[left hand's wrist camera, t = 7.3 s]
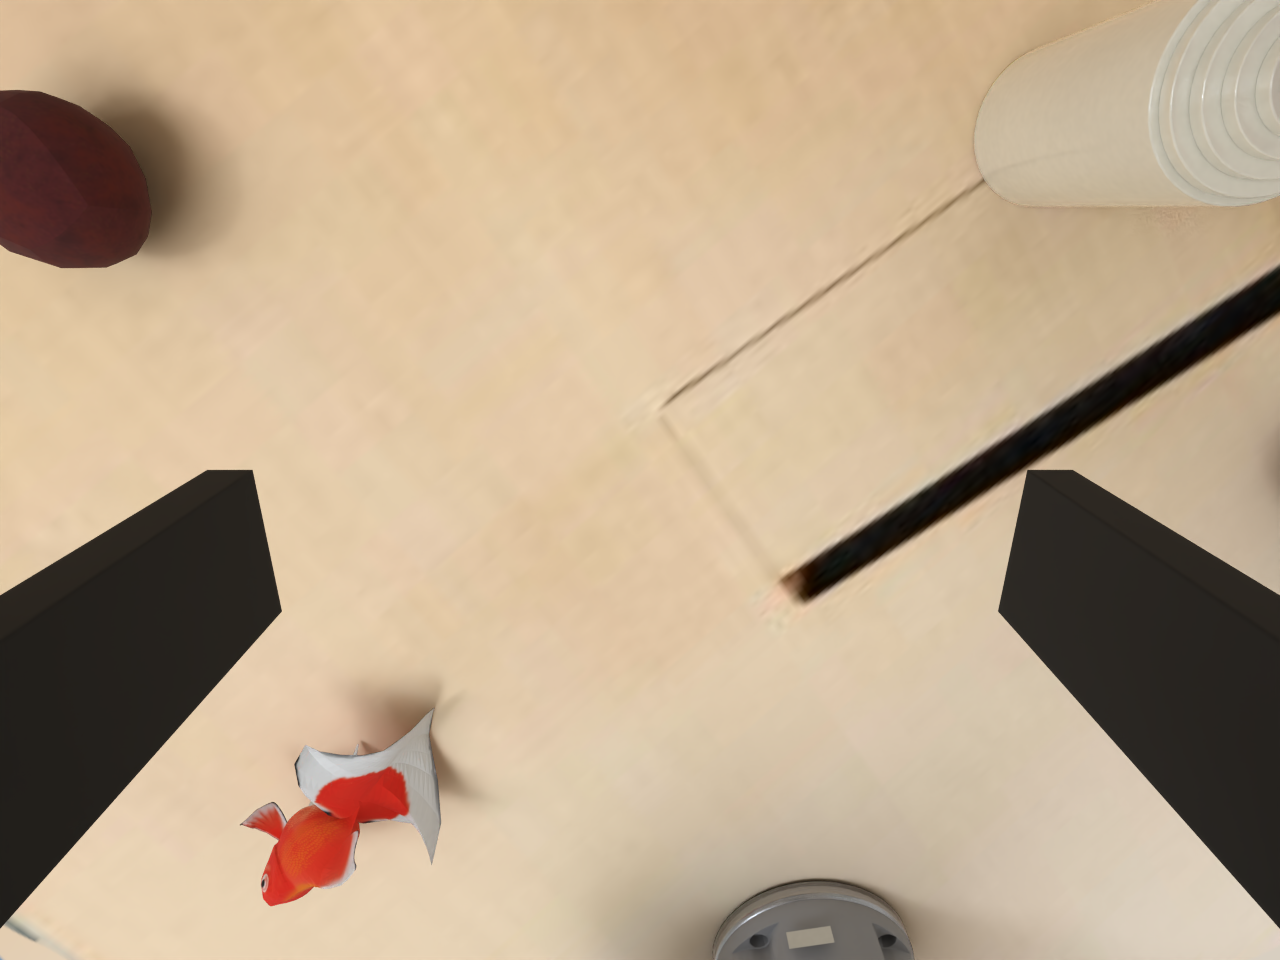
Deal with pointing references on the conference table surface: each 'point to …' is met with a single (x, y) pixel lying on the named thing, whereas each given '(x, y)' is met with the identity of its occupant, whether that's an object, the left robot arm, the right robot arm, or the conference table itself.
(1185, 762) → the left robot arm
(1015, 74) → the bottle
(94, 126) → the dark red ball
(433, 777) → the fish
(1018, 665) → the conference table surface
